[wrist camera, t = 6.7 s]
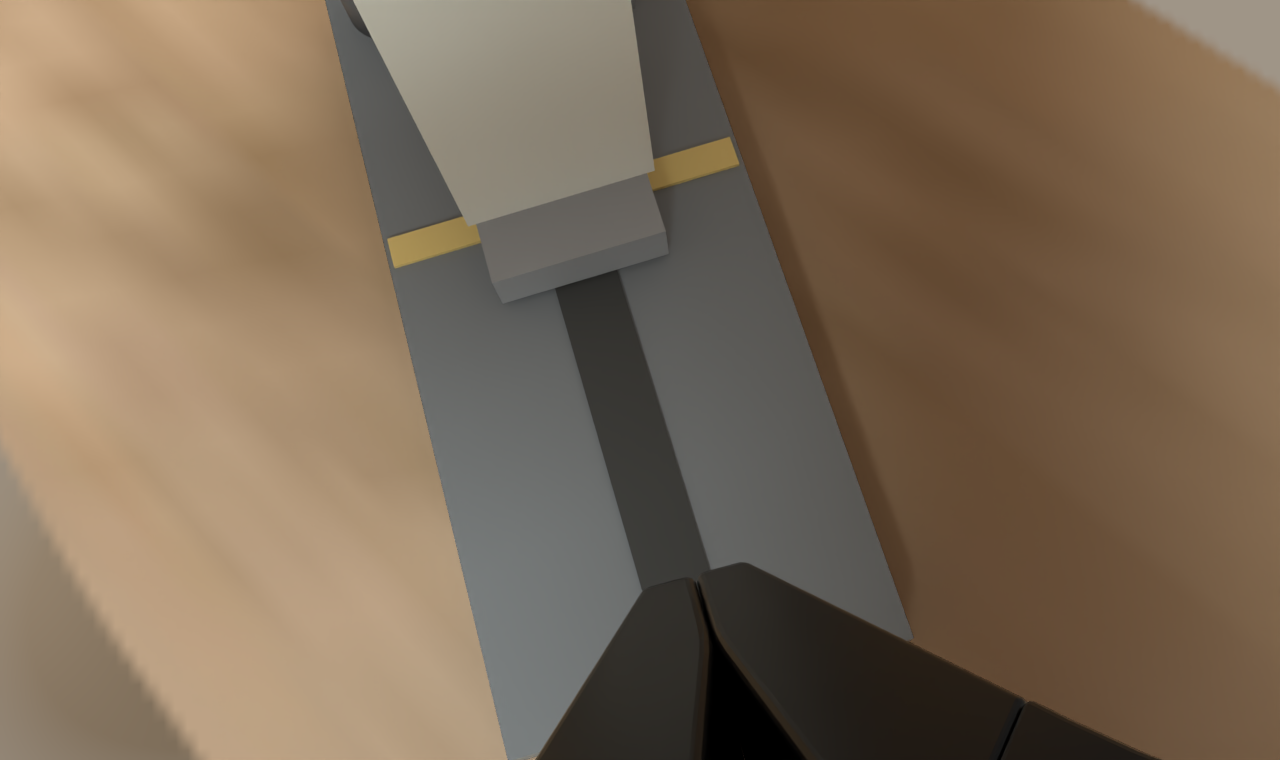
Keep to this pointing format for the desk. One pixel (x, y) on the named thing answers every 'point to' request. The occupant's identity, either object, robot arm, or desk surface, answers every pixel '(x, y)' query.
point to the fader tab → (531, 129)
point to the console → (615, 395)
